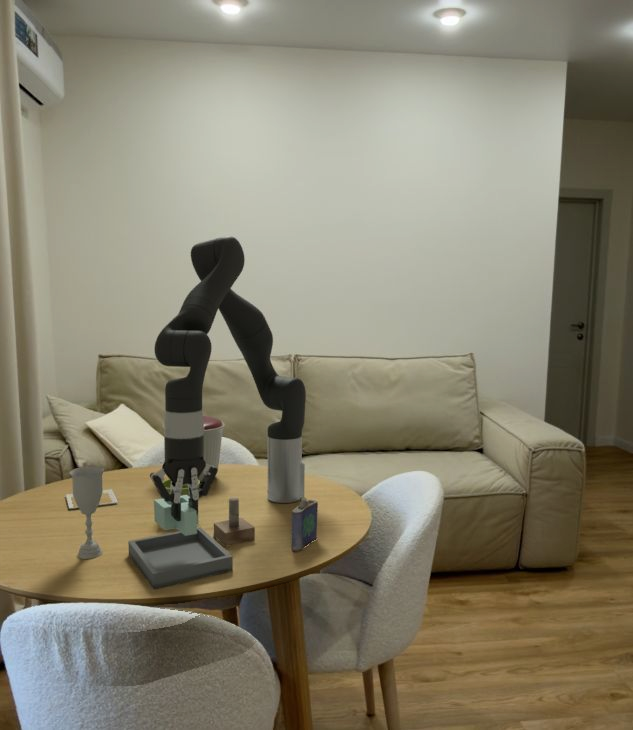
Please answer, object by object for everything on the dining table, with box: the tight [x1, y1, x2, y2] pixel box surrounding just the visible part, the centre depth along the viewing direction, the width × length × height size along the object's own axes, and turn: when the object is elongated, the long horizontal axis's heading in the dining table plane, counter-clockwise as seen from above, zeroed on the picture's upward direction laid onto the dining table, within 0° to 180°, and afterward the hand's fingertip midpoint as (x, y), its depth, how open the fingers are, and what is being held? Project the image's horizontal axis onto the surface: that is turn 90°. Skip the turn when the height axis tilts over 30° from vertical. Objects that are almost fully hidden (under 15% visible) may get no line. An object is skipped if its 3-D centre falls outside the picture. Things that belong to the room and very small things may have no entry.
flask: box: [290, 496, 319, 552], centre depth 138 cm, size 9×3×11 cm, turn 151°
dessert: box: [65, 488, 119, 510], centre depth 166 cm, size 12×12×5 cm
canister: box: [162, 415, 226, 482], centre depth 185 cm, size 18×18×21 cm
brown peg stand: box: [213, 497, 256, 547], centre depth 141 cm, size 7×7×9 cm
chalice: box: [69, 465, 105, 560], centre depth 131 cm, size 7×7×18 cm
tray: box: [127, 526, 234, 590], centre depth 128 cm, size 16×18×3 cm
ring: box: [153, 495, 199, 536], centre depth 126 cm, size 7×12×4 cm, turn 31°
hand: (184, 518), depth 123 cm, fingers closed on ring, 2 cm apart
